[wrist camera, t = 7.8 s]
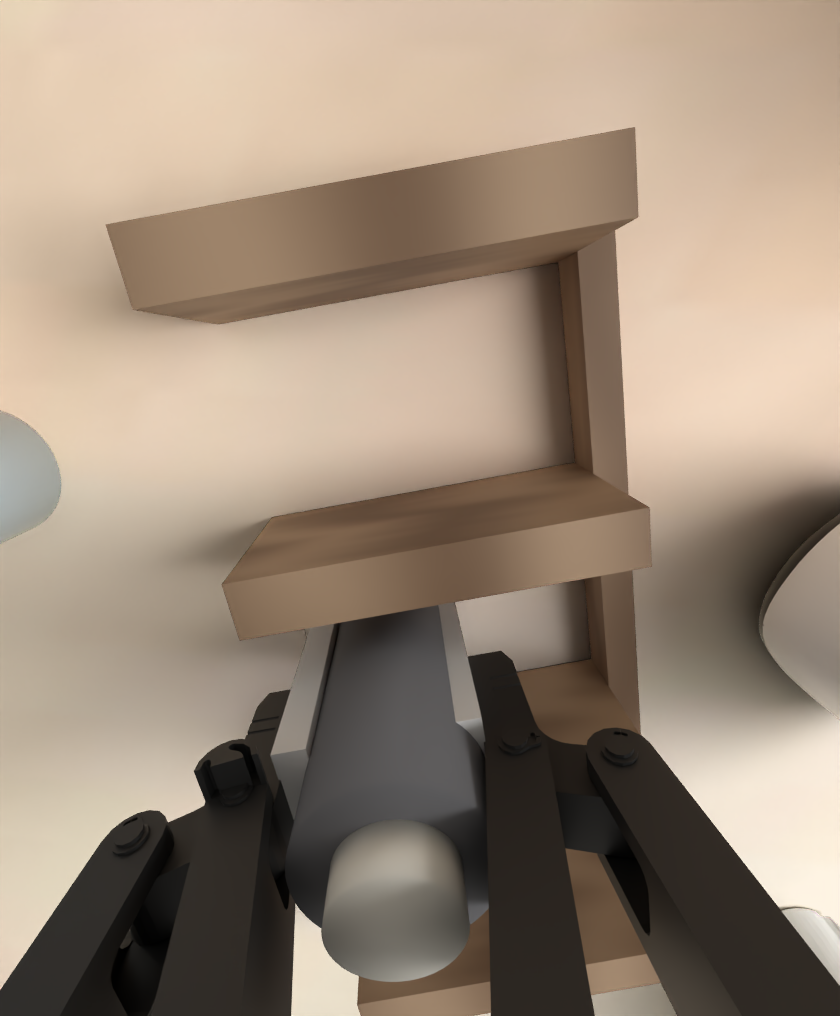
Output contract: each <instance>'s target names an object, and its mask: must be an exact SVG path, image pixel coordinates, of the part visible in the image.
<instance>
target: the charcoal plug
mask: <svg viewBox="0 0 840 1016" xmlns="http://www.w3.org/2000/svg"><path fill="white" fill-rule="evenodd" d="M285 878H286V882H287V886H288V889H289V891H290V894H291V896H292V898H293V900H294V901H295V903H296V904H297V906H298V908H299V909H300V910H301V911H302V912H303V913H304V914H305V916H306V917H308V918H309V919H310V920H311V921H312V922H313V923H314V924H316V925H317V926H319V927H320V928H322V929H321V932H322V940H323V944H324V946H325V948H326V950H327V952H328V954H329V955H330V956H331V958H332V959H333V960H334V961H335V962H336V963H337V964H339V965H340V966H341V967H343V968H344V969H346V970H347V971H349V972H351V973H353V974H355V975H358V976H360V977H363V978H367V979H371V980H376V981H384V982H402V981H410V980H415V979H419V978H422V977H426V976H428V975H431V974H433V973H436V972H437V971H439V970H441V969H443V968H444V967H446V966H447V965H449V964H450V963H451V962H452V961H454V960H455V959H456V958H457V957H458V955H459V954H460V953H461V952H462V950H463V949H464V947H465V945H466V943H467V941H468V937H469V933H470V924H472V923H473V922H475V921H476V920H477V919H478V918H479V917H480V916H482V915H483V914H484V913H485V912H486V910H487V909H488V908H489V901H488V855H487V809H486V763H485V756H484V753H483V751H482V749H481V747H480V746H479V744H478V743H477V741H476V740H475V739H474V738H473V736H472V735H471V734H470V733H469V732H468V731H467V730H466V729H464V728H463V727H462V726H461V725H459V724H458V723H456V720H455V713H454V707H453V700H452V693H451V686H450V680H449V673H448V666H447V659H446V653H445V646H444V639H443V632H442V626H441V619H440V612H439V605H435V606H430V607H424V608H419V609H413V610H408V611H402V612H397V613H391V614H385V615H380V616H374V617H369V618H363V619H358V620H352V621H346V622H341V623H340V624H339V628H338V633H337V637H336V641H335V646H334V650H333V655H332V659H331V663H330V668H329V672H328V677H327V681H326V686H325V690H324V694H323V699H322V703H321V708H320V712H319V717H318V721H317V726H316V730H315V735H314V739H313V744H312V748H311V752H310V757H309V761H308V764H307V767H306V771H305V775H304V780H303V784H302V788H301V793H300V797H299V801H298V806H297V810H296V814H295V819H294V823H293V827H292V832H291V836H290V841H289V845H288V849H287V854H286V860H285Z"/></svg>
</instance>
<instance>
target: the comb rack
mask: <svg viewBox="0 0 840 1016" xmlns="http://www.w3.org/2000/svg"><path fill="white" fill-rule="evenodd" d="M636 218H638V194H637V168H636V142H635V127H633V128H628V129H622V130H617V131H611V132H606V133H600V134H595V135H590V136H584V137H579V138H573V139H568V140H563V141H557V142H552V143H546V144H541V145H535V146H530V147H525V148H519V149H514V150H508V151H503V152H497V153H492V154H487V155H481V156H476V157H470V158H465V159H459V160H454V161H449V162H443V163H438V164H432V165H427V166H421V167H416V168H411V169H405V170H400V171H394V172H389V173H383V174H378V175H373V176H367V177H362V178H356V179H351V180H345V181H340V182H335V183H329V184H324V185H318V186H313V187H308V188H302V189H297V190H291V191H286V192H280V193H275V194H270V195H264V196H259V197H253V198H248V199H242V200H237V201H232V202H226V203H221V204H215V205H210V206H204V207H199V208H194V209H188V210H183V211H177V212H172V213H166V214H161V215H156V216H150V217H145V218H139V219H134V220H128V221H123V222H118V223H112V224H107V225H106V227H107V231H108V234H109V237H110V240H111V243H112V246H113V249H114V252H115V255H116V258H117V262H118V265H119V268H120V271H121V274H122V277H123V280H124V283H125V286H126V289H127V293H128V296H129V299H130V302H131V305H132V308H133V310H137V311H143V312H149V313H155V314H161V315H167V316H173V317H179V318H185V319H191V320H197V321H203V322H209V323H214V324H223V323H228V322H234V321H239V320H245V319H250V318H256V317H261V316H267V315H272V314H277V313H283V312H288V311H294V310H299V309H305V308H310V307H316V306H321V305H327V304H332V303H338V302H343V301H348V300H354V299H359V298H365V297H370V296H376V295H381V294H387V293H392V292H398V291H403V290H409V289H414V288H420V287H425V286H430V285H436V284H441V283H447V282H452V281H458V280H463V279H469V278H474V277H480V276H485V275H491V274H496V273H501V272H507V271H512V270H518V269H523V268H529V267H534V266H540V265H545V264H551V263H556V262H558V264H559V276H560V288H561V300H562V312H563V325H564V337H565V349H566V361H567V373H568V385H569V397H570V409H571V421H572V434H573V446H574V458H575V463H570V464H564V465H559V466H553V467H548V468H542V469H537V470H531V471H526V472H520V473H515V474H509V475H503V476H498V477H492V478H487V479H481V480H476V481H470V482H465V483H459V484H454V485H448V486H443V487H437V488H432V489H426V490H420V491H415V492H409V493H404V494H398V495H393V496H387V497H382V498H376V499H371V500H365V501H360V502H354V503H349V504H343V505H338V506H332V507H326V508H321V509H315V510H310V511H304V512H299V513H293V514H288V515H282V516H277V517H272V518H271V520H270V521H269V522H268V524H267V525H266V526H265V528H264V529H263V530H262V532H261V533H260V534H259V536H258V537H257V538H256V540H255V541H254V542H253V544H252V545H251V546H250V548H249V549H248V550H247V552H246V553H245V554H244V556H243V557H242V558H241V560H240V561H239V562H238V564H237V565H236V566H235V568H234V569H233V570H232V572H231V573H230V574H229V576H228V577H227V578H226V580H225V581H224V582H223V584H222V587H223V590H224V593H225V596H226V599H227V603H228V606H229V609H230V612H231V615H232V618H233V621H234V624H235V627H236V630H237V634H238V637H239V640H240V641H241V640H246V639H252V638H257V637H263V636H268V635H274V634H280V633H285V632H291V631H296V630H302V629H304V630H305V633H306V637H307V636H308V633H309V630H310V628H313V627H319V626H324V625H330V624H335V623H341V622H346V621H352V620H358V619H363V618H369V617H374V616H380V615H385V614H391V613H397V612H402V611H408V610H413V609H419V608H424V607H430V606H435V605H441V604H447V603H452V602H458V601H463V600H469V599H474V598H480V597H486V596H491V595H497V594H502V593H508V592H513V591H519V590H525V589H530V588H536V587H541V586H547V585H552V584H558V583H564V582H569V581H575V580H580V579H585V591H586V603H587V615H588V627H589V639H590V651H591V659H588V660H583V661H577V662H572V663H566V664H560V665H555V666H549V667H544V668H538V669H532V670H527V671H521V672H517V675H518V677H519V680H520V683H521V685H522V688H523V691H524V693H525V696H526V698H527V701H528V704H529V706H530V709H531V712H532V714H533V717H534V720H535V722H536V724H537V726H538V728H539V729H540V730H541V731H542V732H543V733H544V734H545V735H547V736H549V737H550V738H552V739H554V740H557V741H560V742H564V743H569V744H580V745H587V740H588V739H589V738H590V737H591V736H592V735H593V734H594V733H595V732H597V731H600V730H602V729H605V728H616V727H617V728H622V729H628V730H631V731H633V732H635V733H637V734H640V735H641V732H640V713H639V693H638V673H637V654H636V634H635V614H634V595H633V575H632V570H636V569H642V568H647V567H652V562H651V535H650V509H649V507H648V506H646V505H644V504H643V503H641V502H639V501H638V500H636V499H634V498H633V497H631V496H629V495H628V477H627V457H626V438H625V418H624V398H623V379H622V359H621V339H620V320H619V300H618V280H617V261H616V241H615V230H616V229H618V228H620V227H622V226H623V225H625V224H627V223H629V222H631V221H632V220H634V219H636ZM565 849H566V848H565ZM566 855H567V861H568V866H569V872H570V878H571V884H572V889H573V895H574V901H575V906H576V912H577V918H578V924H579V929H580V935H581V941H582V946H583V952H584V958H585V964H586V969H587V975H588V981H589V986H590V992H591V995H594V994H600V993H606V992H611V991H617V990H623V989H629V988H634V987H640V986H646V985H651V984H657V983H661V982H660V980H659V978H658V976H657V974H656V972H655V970H654V968H653V966H652V964H651V962H650V960H649V958H648V956H647V954H646V952H645V950H644V948H643V946H642V944H641V942H640V940H639V938H638V936H637V934H636V932H635V930H634V928H633V926H632V924H631V922H630V920H629V918H628V916H627V914H626V912H625V910H624V908H623V905H622V903H621V901H620V899H619V897H618V895H617V893H616V891H615V889H614V887H613V885H612V883H611V881H610V879H609V877H608V875H607V873H606V871H605V869H604V867H603V865H602V863H601V861H600V859H599V857H598V855H597V853H592V852H585V851H579V850H573V849H566ZM357 1006H358V1009H359V1012H360V1015H361V1016H474V1015H480V1014H486V1013H491V992H490V946H489V908H488V909H487V910H486V912H485V913H484V914H483V915H482V916H480V917H479V918H478V919H477V920H476V921H475V922H473V923H472V924H470V933H469V937H468V941H467V943H466V945H465V947H464V949H463V950H462V952H461V953H460V954H459V955H458V957H457V958H456V959H455V960H454V961H452V962H451V963H450V964H449V965H447V966H446V967H444V968H443V969H441V970H439V971H437V972H436V973H433V974H431V975H428V976H426V977H422V978H419V979H415V980H410V981H402V982H384V981H376V980H371V979H367V978H363V977H360V976H359V983H358V1000H357Z"/></svg>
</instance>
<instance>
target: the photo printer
mask: <svg viewBox="0 0 840 1016" xmlns="http://www.w3.org/2000/svg"><path fill="white" fill-rule="evenodd" d="M782 912H783V914H784V915H785V916H786V918H787V919H788V920H789V921H790V923H791V924H792V925H793V927H794V928H795V929H796V930H797V932H798V933H799V934H800V935H801V937H802V938H803V939H804V941H805V942H806V943H807V944H808V946H809V947H810V948H811V950H812V951H813V952H814V953H815V955H816V956H817V957H818V958H819V960H820V961H821V962H822V964H823V965H824V966H825V967H826V969H827V970H828V971H829V973H830V974H831V975H832V976H833V978H834V979H835V980H836V982H837V983H838V984H839V985H840V926H839V925H838V924H837V923H836V922H835V921H834V920H833V919H832V918H830V917H824V916H820V915H819V914H818V913H817V912H816V911H814V910H810V909H804V908H791V909H786V910H782Z"/></svg>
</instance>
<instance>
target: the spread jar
mask: <svg viewBox="0 0 840 1016" xmlns="http://www.w3.org/2000/svg"><path fill="white" fill-rule="evenodd" d="M759 631H760V636H761V638H762V641H763V643H764V645H765V647H766V648H767V650H768V652H769V653H770V655H771V656H772V657H773V659H774V660H775V661H776V662H777V664H778V665H779V666H780V667H781V668H782V669H783V671H784V672H785V673H786V674H787V675H788V676H789V677H790V678H791V679H792V680H793V681H794V682H795V683H796V684H798V685H799V686H800V687H801V688H802V689H803V690H804V691H805V692H806V693H808V694H809V695H810V696H811V697H812V698H813V699H815V700H816V701H817V702H818V703H819V704H821V705H822V706H823V707H824V708H825V709H827V710H828V711H829V712H830V713H831V714H833V715H834V716H835V717H836V718H837V719H839V720H840V514H839V515H837V516H836V517H834V518H833V519H832V520H830V521H829V522H827V523H826V524H825V525H823V526H822V527H821V528H820V529H819V530H817V531H816V532H815V533H814V534H813V535H811V536H810V537H809V538H808V539H807V540H806V541H805V542H804V543H803V544H802V545H801V546H800V547H799V548H798V549H797V550H796V551H795V552H794V553H793V554H792V556H791V557H790V558H789V559H788V560H787V562H786V563H785V564H784V566H783V567H782V569H781V570H780V572H779V573H778V575H777V576H776V578H775V579H774V581H773V583H772V584H771V586H770V588H769V590H768V592H767V594H766V596H765V598H764V601H763V603H762V606H761V610H760V615H759Z"/></svg>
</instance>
